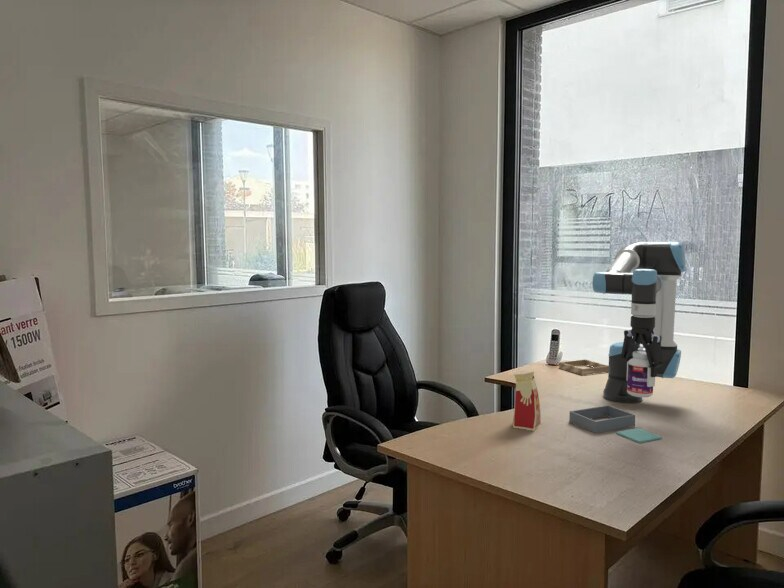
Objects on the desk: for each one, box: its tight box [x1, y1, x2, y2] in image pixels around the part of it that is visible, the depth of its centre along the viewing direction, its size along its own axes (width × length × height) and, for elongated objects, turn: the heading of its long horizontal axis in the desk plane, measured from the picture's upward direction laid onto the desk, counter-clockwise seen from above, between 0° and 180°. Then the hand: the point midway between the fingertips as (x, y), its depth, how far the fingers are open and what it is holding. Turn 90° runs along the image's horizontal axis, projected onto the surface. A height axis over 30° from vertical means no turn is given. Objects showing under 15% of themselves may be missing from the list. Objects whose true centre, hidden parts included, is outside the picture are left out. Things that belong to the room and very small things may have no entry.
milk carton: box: [512, 370, 542, 432], centre depth 209 cm, size 9×9×20 cm
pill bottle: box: [627, 351, 654, 398], centre depth 196 cm, size 8×8×14 cm
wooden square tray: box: [558, 358, 609, 376], centre depth 293 cm, size 17×17×3 cm
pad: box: [616, 427, 663, 444], centre depth 198 cm, size 10×10×1 cm
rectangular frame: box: [568, 404, 636, 434], centre depth 211 cm, size 13×18×4 cm
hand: (640, 383), depth 196 cm, fingers closed on pill bottle, 8 cm apart
